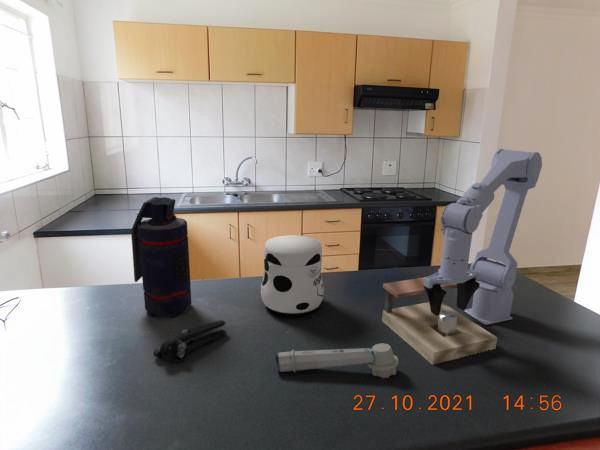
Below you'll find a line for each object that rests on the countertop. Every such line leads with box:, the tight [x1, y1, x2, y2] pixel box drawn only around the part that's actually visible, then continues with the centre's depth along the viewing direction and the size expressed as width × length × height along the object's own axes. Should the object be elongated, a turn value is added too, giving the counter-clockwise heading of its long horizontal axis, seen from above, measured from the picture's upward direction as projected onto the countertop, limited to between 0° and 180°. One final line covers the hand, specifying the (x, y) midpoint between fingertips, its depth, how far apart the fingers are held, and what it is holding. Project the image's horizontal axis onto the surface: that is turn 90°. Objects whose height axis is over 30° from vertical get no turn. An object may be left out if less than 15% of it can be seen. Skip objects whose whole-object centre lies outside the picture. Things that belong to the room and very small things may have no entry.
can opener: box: [152, 319, 227, 362], centre depth 92 cm, size 18×7×6 cm, turn 138°
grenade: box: [130, 196, 192, 318], centre depth 106 cm, size 14×12×30 cm
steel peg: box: [437, 311, 457, 337], centre depth 97 cm, size 4×4×7 cm
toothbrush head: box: [275, 342, 399, 379], centre depth 85 cm, size 5×7×25 cm
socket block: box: [381, 276, 498, 366], centre depth 99 cm, size 19×20×10 cm
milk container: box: [260, 234, 325, 316], centre depth 111 cm, size 17×17×18 cm
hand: (448, 311), depth 96 cm, fingers open, 7 cm apart
